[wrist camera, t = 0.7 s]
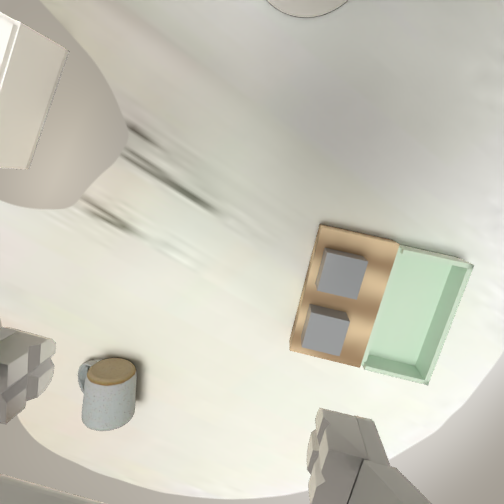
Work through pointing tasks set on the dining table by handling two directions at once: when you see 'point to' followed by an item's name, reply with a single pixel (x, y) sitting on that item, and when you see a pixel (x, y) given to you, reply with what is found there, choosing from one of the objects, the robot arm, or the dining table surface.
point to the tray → (416, 314)
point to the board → (358, 311)
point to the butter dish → (25, 89)
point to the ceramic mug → (107, 393)
